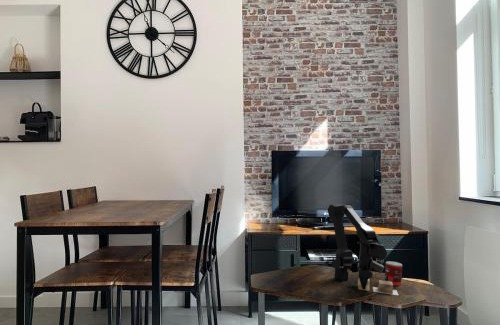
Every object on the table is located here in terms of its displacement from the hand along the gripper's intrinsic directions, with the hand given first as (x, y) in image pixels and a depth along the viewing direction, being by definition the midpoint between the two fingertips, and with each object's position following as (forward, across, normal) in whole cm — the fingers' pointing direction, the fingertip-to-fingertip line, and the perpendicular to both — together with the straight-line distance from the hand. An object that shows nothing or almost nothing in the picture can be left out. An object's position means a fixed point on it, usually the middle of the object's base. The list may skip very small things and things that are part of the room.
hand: (363, 287), depth 182 cm
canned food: (+1, +17, -15) cm, 23 cm away
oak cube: (+1, 0, 0) cm, 1 cm away
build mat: (+1, +1, -10) cm, 10 cm away
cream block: (0, +1, -10) cm, 10 cm away
